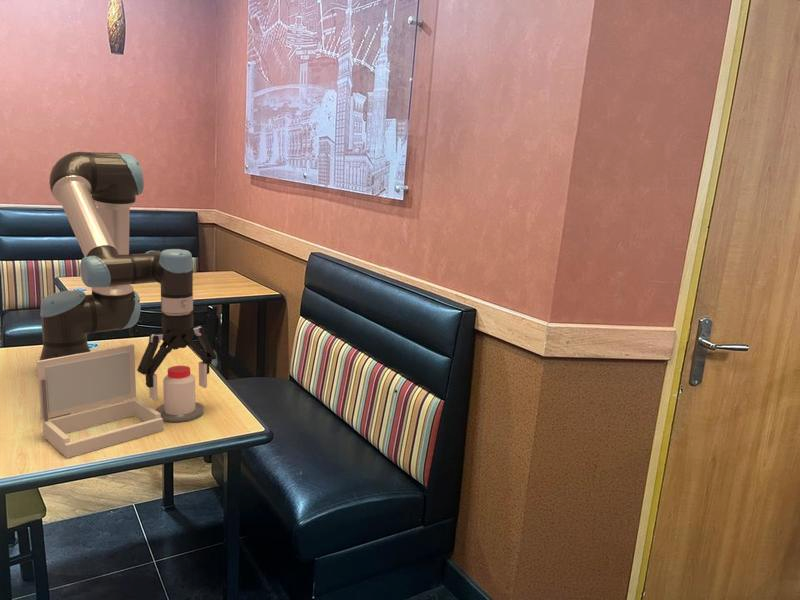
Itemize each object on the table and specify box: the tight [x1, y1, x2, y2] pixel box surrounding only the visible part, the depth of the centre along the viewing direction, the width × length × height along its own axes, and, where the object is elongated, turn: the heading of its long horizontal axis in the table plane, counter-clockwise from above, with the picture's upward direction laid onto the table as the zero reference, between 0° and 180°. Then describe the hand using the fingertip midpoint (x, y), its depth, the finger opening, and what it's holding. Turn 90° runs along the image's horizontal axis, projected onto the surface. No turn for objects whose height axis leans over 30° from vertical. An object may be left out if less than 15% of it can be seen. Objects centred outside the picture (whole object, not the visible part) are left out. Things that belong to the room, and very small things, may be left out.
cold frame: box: [36, 343, 164, 459], centre depth 147 cm, size 15×22×18 cm
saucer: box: [154, 402, 205, 424], centre depth 163 cm, size 12×12×1 cm
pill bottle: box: [162, 365, 196, 415], centre depth 161 cm, size 8×8×11 cm
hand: (179, 392), depth 162 cm, fingers open, 13 cm apart
